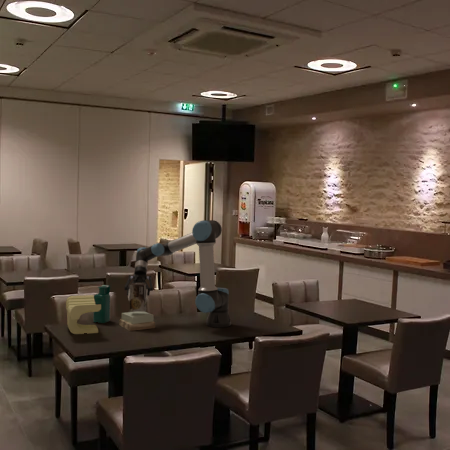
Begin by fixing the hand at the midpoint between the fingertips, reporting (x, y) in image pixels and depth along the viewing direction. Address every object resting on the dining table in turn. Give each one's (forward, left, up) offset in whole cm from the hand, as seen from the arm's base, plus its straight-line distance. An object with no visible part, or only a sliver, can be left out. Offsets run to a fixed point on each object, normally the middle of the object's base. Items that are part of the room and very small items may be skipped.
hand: (137, 299), depth 325 cm
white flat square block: (+3, -2, -13) cm, 14 cm away
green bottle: (+25, +12, -17) cm, 33 cm away
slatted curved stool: (+6, +31, -17) cm, 36 cm away
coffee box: (+3, -2, -8) cm, 8 cm away
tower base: (+3, -1, -17) cm, 18 cm away
